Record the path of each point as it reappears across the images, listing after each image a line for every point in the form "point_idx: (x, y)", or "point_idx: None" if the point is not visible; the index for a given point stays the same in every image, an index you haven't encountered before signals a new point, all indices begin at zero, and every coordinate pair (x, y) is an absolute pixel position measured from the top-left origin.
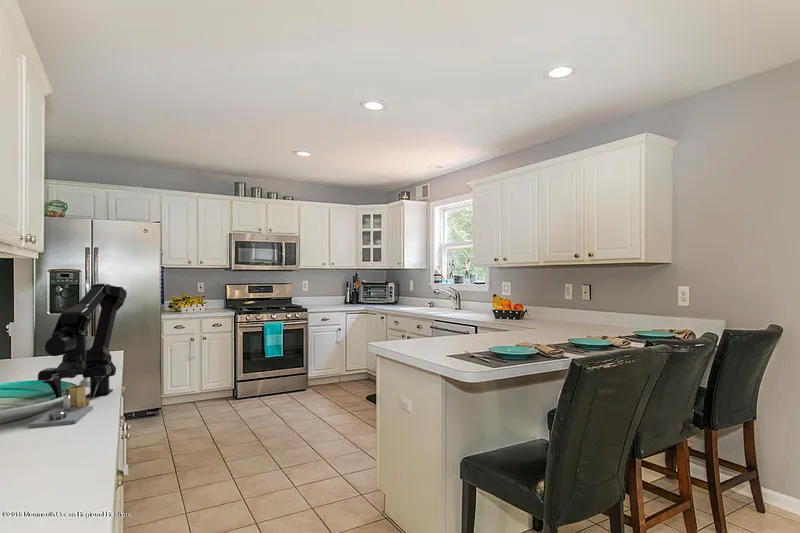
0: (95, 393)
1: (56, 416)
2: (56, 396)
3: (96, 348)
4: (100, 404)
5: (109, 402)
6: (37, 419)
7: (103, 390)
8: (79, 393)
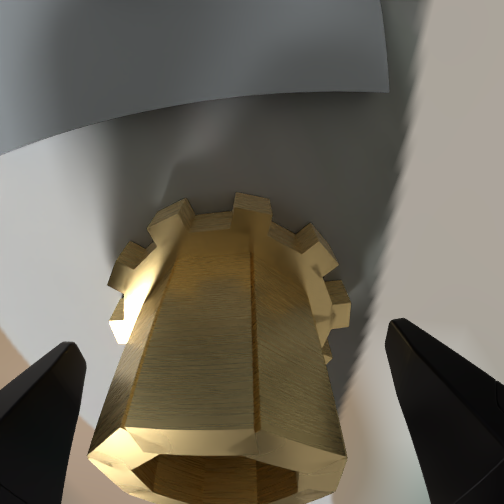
0: None
1: None
2: (438, 344)
3: None
4: (39, 293)
5: (20, 325)
6: None
7: None
8: (128, 366)
